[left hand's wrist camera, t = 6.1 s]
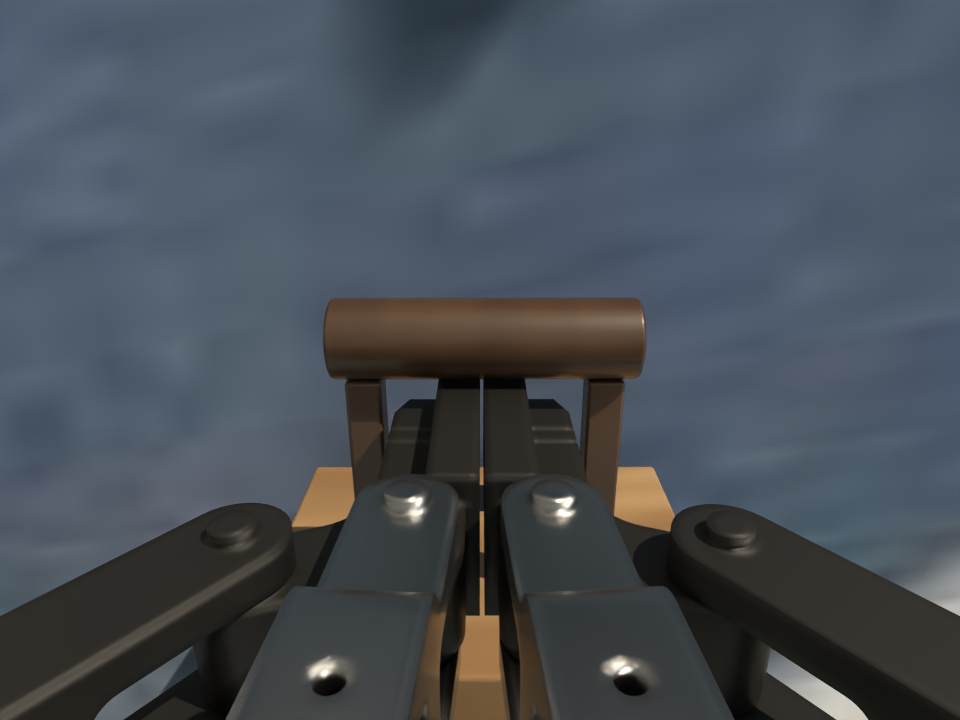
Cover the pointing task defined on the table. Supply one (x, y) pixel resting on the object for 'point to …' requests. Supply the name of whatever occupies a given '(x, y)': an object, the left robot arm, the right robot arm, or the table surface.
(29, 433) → the table surface
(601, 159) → the table surface
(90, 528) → the table surface
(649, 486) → the drawer
